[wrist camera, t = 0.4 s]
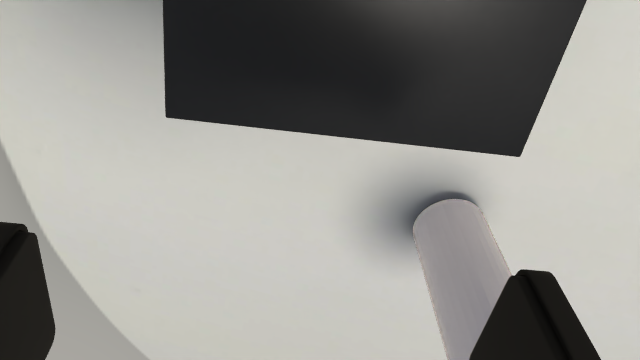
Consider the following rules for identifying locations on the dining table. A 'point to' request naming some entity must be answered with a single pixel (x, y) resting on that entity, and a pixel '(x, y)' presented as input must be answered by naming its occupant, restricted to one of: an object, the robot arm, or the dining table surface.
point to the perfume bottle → (459, 271)
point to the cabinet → (369, 67)
